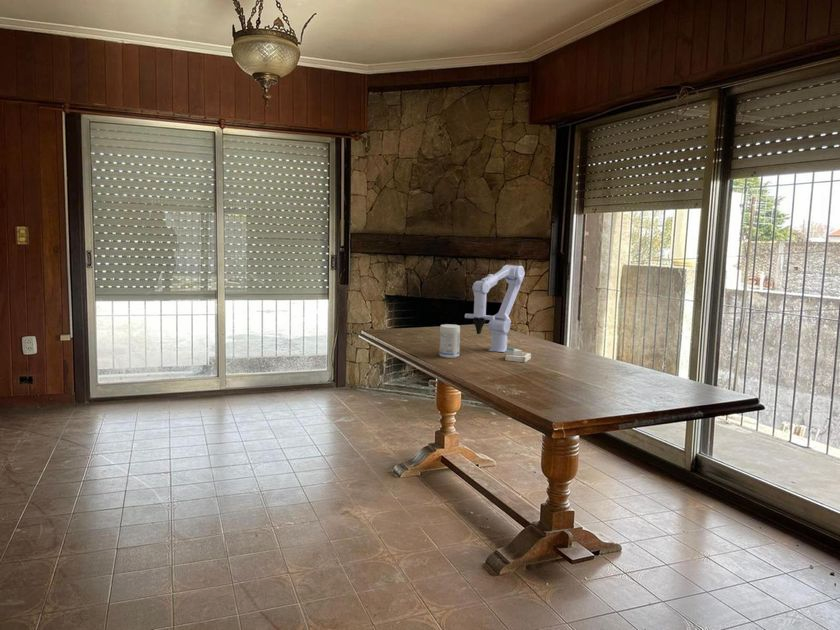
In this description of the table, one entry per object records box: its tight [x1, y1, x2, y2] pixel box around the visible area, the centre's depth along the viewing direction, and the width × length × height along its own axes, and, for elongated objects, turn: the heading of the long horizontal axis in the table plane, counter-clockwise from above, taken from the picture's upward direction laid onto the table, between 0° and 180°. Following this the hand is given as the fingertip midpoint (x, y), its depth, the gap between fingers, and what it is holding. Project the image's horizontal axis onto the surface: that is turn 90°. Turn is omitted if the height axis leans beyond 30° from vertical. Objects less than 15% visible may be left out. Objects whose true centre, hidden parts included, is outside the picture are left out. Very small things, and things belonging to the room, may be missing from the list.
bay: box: [505, 351, 532, 363], centre depth 299 cm, size 11×9×2 cm
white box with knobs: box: [505, 346, 523, 358], centre depth 299 cm, size 7×5×6 cm
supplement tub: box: [438, 323, 461, 359], centre depth 300 cm, size 10×10×15 cm
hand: (478, 333), depth 308 cm, fingers closed
